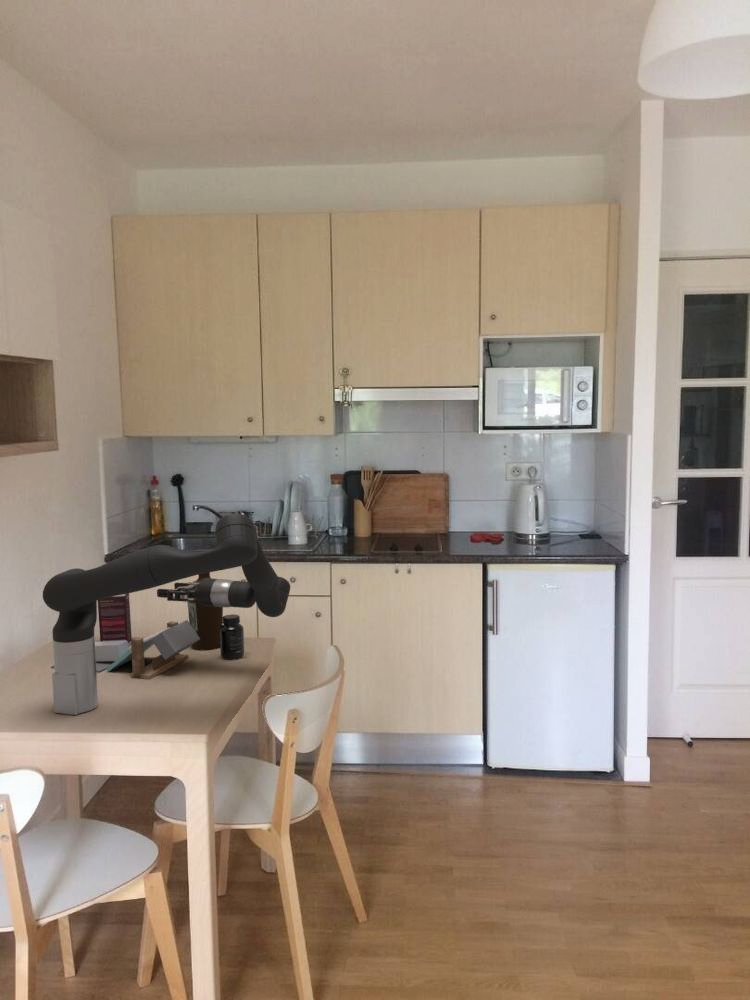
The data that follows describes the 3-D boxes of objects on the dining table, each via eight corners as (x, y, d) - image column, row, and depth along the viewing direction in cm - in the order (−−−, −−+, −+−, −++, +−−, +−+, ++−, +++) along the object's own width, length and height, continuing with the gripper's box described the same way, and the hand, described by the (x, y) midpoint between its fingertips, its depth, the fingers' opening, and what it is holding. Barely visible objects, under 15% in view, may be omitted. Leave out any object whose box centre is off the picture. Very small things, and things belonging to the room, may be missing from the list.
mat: (99, 672, 211) (99, 671, 211) (51, 667, 216) (51, 666, 216) (134, 655, 226) (134, 654, 226) (88, 651, 231) (88, 650, 231)
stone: (118, 645, 215) (75, 646, 219) (120, 660, 216) (77, 661, 220) (127, 640, 220) (85, 642, 224) (129, 656, 220) (87, 657, 224)
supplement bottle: (216, 656, 224) (214, 616, 222) (237, 651, 228) (235, 612, 227) (228, 661, 218) (226, 620, 217) (249, 656, 223) (247, 616, 222)
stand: (188, 658, 223) (186, 622, 222) (149, 679, 204) (148, 640, 203) (170, 656, 224) (168, 621, 223) (130, 677, 206) (128, 639, 205)
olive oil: (219, 639, 242) (215, 560, 239) (229, 647, 233) (226, 565, 230) (185, 644, 237) (181, 564, 234) (194, 653, 228) (190, 569, 225)
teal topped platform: (201, 638, 218) (184, 614, 219) (174, 652, 204) (156, 627, 205) (152, 677, 224) (136, 653, 225) (122, 693, 211) (105, 668, 212)
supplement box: (132, 642, 240) (129, 592, 239) (128, 646, 235) (125, 595, 234) (104, 643, 240) (101, 593, 238) (99, 647, 235) (96, 596, 233)
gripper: (231, 574, 214) (179, 571, 219) (205, 584, 201) (151, 581, 206) (231, 600, 215) (180, 597, 220) (205, 612, 201) (152, 608, 206)
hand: (166, 589), depth 213 cm, fingers open, 8 cm apart
